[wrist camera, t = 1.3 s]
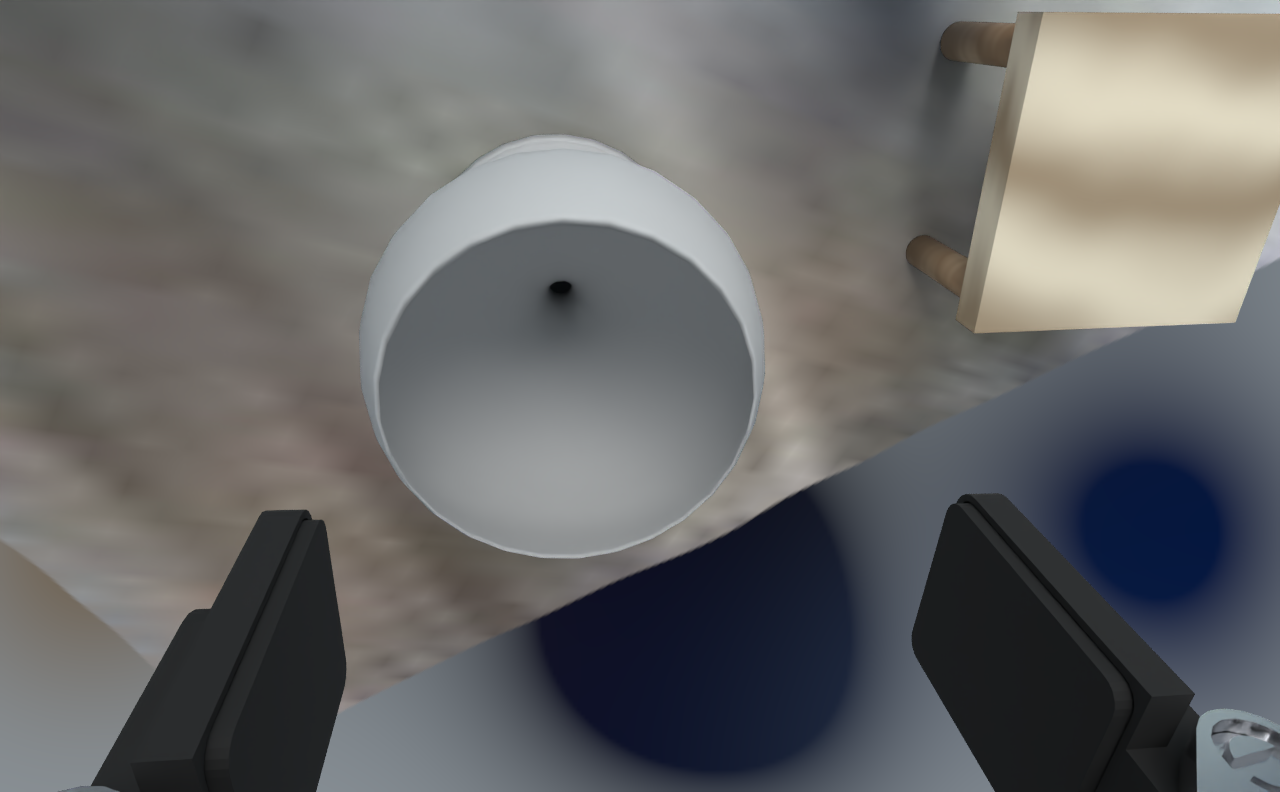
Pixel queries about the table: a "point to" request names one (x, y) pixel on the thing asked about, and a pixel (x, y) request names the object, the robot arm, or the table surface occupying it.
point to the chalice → (561, 350)
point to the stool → (1118, 170)
